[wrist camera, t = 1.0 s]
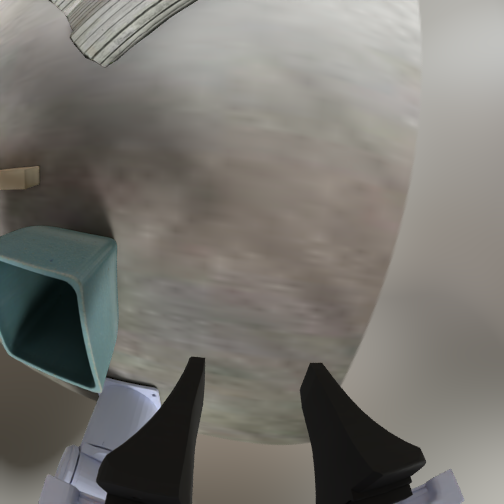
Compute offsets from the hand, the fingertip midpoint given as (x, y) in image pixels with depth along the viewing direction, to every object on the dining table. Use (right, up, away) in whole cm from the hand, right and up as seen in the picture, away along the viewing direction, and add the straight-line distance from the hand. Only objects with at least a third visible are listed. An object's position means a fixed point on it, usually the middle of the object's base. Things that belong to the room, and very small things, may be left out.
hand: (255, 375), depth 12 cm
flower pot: (-13, +5, +8) cm, 16 cm away
